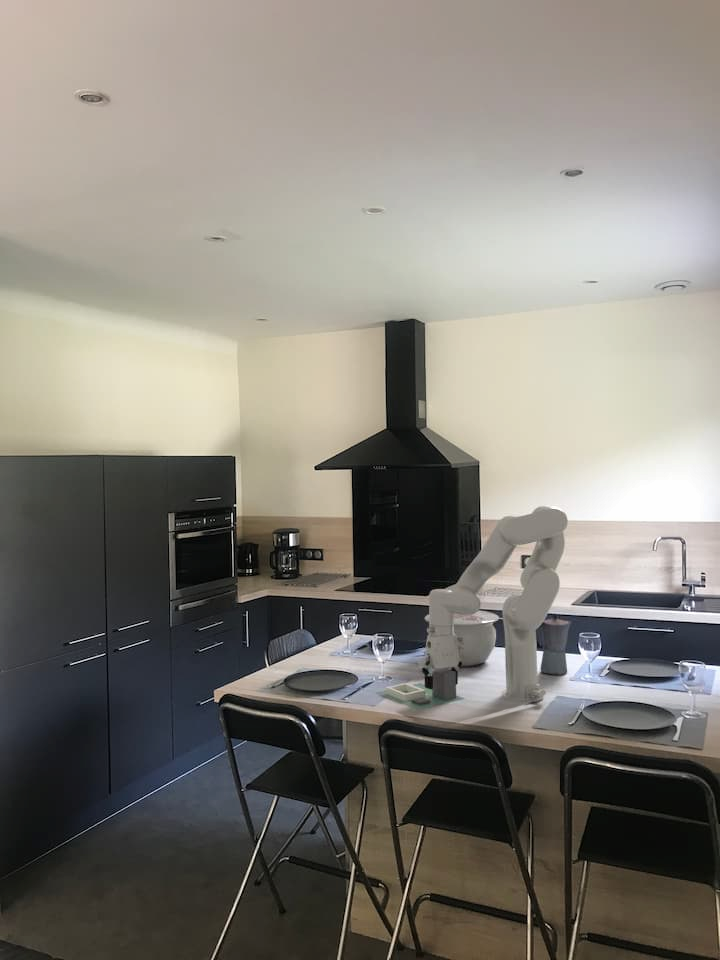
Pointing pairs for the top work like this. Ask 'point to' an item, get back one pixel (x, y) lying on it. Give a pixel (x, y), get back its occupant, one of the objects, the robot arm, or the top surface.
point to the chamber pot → (474, 636)
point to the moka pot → (554, 645)
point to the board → (414, 696)
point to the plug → (444, 684)
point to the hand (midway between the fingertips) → (441, 686)
